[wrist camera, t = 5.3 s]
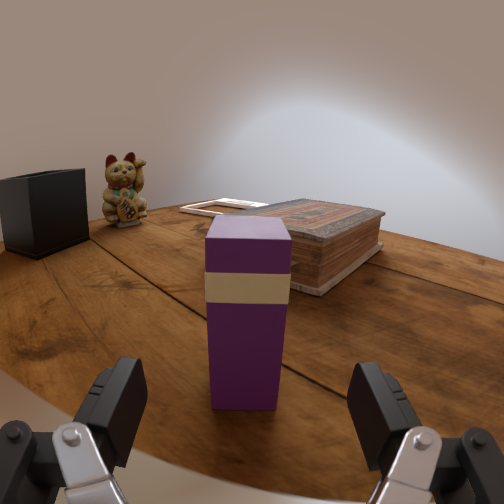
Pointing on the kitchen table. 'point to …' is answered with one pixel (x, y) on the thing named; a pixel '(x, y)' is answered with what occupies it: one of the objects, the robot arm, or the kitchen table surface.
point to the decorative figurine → (124, 191)
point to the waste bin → (44, 212)
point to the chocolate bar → (246, 309)
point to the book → (323, 239)
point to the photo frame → (220, 202)
